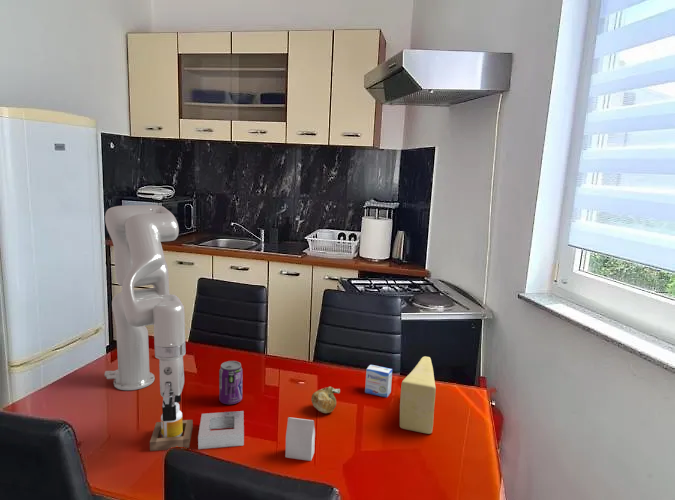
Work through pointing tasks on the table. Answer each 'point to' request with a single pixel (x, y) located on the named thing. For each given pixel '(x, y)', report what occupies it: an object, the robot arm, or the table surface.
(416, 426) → the cheese
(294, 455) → the white boxy piece
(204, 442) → the metal collar
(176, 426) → the supplement bottle
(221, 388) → the beverage can
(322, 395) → the onion
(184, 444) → the brown square wooden frame
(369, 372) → the medicine box
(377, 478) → the table surface
